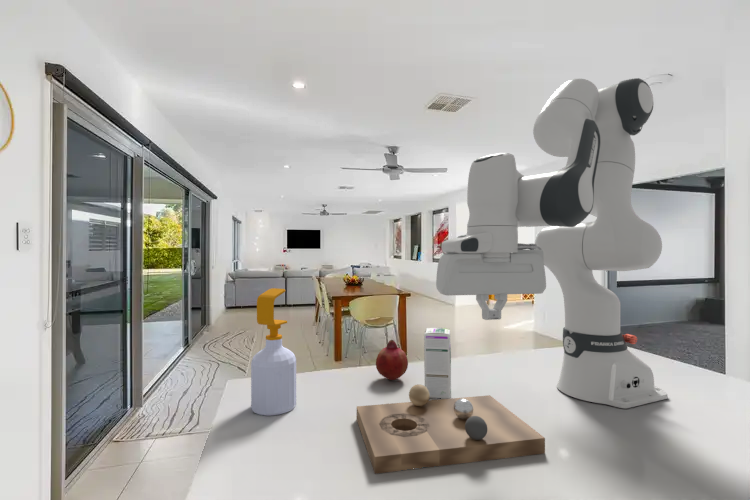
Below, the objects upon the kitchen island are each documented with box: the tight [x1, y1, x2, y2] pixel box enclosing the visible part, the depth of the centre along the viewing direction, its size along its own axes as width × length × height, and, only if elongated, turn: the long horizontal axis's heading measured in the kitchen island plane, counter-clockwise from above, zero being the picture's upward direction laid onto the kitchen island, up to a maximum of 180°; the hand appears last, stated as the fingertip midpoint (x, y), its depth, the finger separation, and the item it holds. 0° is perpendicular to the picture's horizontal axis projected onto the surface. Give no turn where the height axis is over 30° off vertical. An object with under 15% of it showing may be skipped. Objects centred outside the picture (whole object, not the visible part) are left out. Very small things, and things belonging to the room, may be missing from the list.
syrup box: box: [423, 327, 452, 399], centre depth 86 cm, size 6×6×14 cm
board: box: [356, 394, 546, 475], centre depth 67 cm, size 28×18×2 cm, turn 101°
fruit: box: [375, 339, 409, 381], centre depth 95 cm, size 8×8×10 cm
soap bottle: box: [250, 287, 297, 416], centre depth 79 cm, size 9×9×25 cm
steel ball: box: [453, 399, 473, 420], centre depth 68 cm, size 4×4×4 cm
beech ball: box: [408, 384, 431, 406], centre depth 74 cm, size 4×4×4 cm
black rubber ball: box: [465, 416, 487, 440], centre depth 61 cm, size 4×4×4 cm
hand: (491, 319), depth 69 cm, fingers closed
